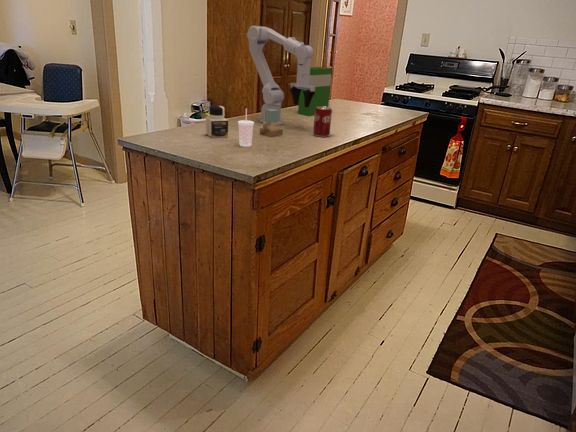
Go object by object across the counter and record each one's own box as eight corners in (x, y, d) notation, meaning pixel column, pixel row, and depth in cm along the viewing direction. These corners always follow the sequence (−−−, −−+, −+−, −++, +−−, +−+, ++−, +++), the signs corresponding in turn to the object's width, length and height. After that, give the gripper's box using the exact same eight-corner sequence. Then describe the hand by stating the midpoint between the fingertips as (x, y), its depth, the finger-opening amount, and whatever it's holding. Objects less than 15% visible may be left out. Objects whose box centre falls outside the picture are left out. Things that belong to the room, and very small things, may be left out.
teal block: (264, 121, 186) (265, 109, 184) (272, 120, 189) (273, 108, 187) (270, 123, 184) (270, 111, 182) (278, 122, 186) (278, 110, 184)
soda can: (331, 134, 195) (333, 107, 190) (327, 138, 189) (329, 110, 184) (315, 132, 197) (317, 105, 192) (310, 135, 191) (313, 108, 186)
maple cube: (262, 128, 187) (263, 121, 186) (270, 127, 191) (270, 120, 189) (271, 130, 184) (272, 123, 183) (279, 129, 188) (279, 122, 187)
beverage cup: (240, 147, 165) (241, 109, 160) (235, 143, 170) (236, 106, 165) (255, 146, 168) (256, 109, 162) (250, 142, 173) (251, 106, 167)
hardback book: (317, 111, 250) (320, 67, 241) (327, 113, 246) (331, 68, 237) (298, 114, 238) (301, 67, 228) (308, 116, 233) (312, 69, 224)
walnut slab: (259, 135, 188) (259, 128, 187) (270, 133, 193) (270, 126, 192) (271, 138, 184) (271, 131, 183) (282, 136, 189) (282, 129, 188)
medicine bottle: (211, 138, 176) (211, 107, 171) (206, 134, 182) (205, 104, 177) (228, 137, 179) (228, 107, 174) (222, 133, 185) (222, 104, 180)
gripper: (286, 73, 197) (284, 103, 202) (307, 76, 186) (305, 108, 192) (298, 72, 201) (296, 103, 206) (319, 76, 191) (317, 107, 196)
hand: (301, 105), depth 199 cm, fingers open, 7 cm apart
